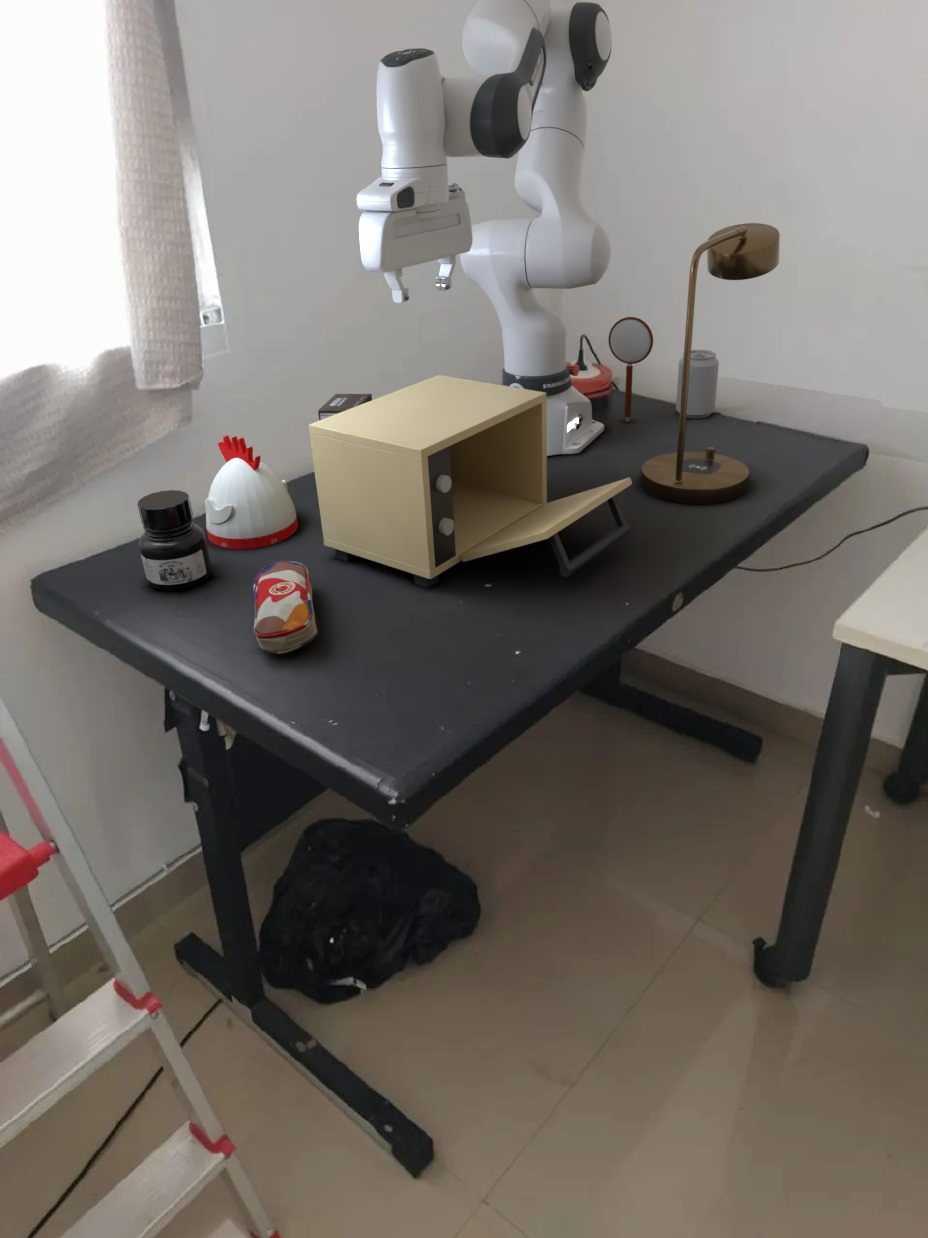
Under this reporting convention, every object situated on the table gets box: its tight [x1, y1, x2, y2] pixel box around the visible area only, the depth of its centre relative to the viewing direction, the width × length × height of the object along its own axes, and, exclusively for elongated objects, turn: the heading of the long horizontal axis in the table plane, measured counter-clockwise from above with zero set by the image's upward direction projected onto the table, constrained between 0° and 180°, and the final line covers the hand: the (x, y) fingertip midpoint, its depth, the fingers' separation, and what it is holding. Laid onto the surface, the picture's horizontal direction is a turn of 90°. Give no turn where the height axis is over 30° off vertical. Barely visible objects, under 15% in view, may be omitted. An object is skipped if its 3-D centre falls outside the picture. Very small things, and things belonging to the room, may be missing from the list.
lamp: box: [640, 222, 781, 505], centre depth 149 cm, size 17×27×38 cm, turn 145°
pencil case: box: [253, 560, 319, 655], centre depth 120 cm, size 11×20×5 cm, turn 177°
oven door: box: [461, 476, 633, 578], centre depth 131 cm, size 22×7×15 cm
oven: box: [308, 374, 548, 589], centre depth 136 cm, size 28×21×20 cm
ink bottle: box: [136, 489, 212, 592], centre depth 131 cm, size 10×9×12 cm
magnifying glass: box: [608, 316, 654, 423], centre depth 179 cm, size 9×2×20 cm, turn 62°
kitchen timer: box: [204, 434, 299, 550], centre depth 144 cm, size 14×14×15 cm
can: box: [675, 349, 720, 419], centre depth 184 cm, size 8×8×12 cm
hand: (422, 295), depth 134 cm, fingers open, 8 cm apart
